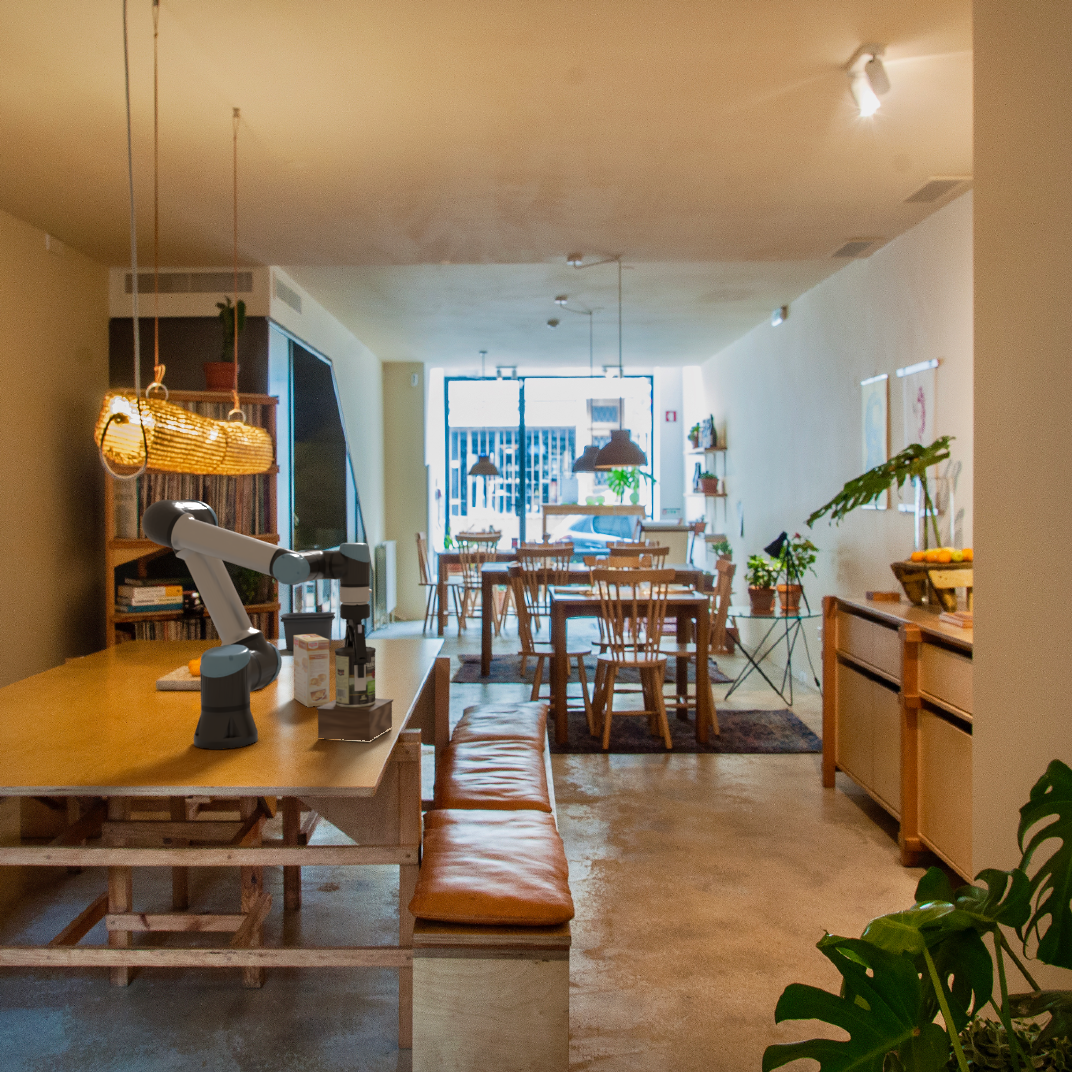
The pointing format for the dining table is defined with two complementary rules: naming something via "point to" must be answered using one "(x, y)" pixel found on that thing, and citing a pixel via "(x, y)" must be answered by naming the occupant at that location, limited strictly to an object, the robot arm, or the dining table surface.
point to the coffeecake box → (311, 670)
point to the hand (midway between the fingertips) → (355, 685)
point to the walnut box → (354, 720)
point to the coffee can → (345, 679)
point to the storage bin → (307, 625)
